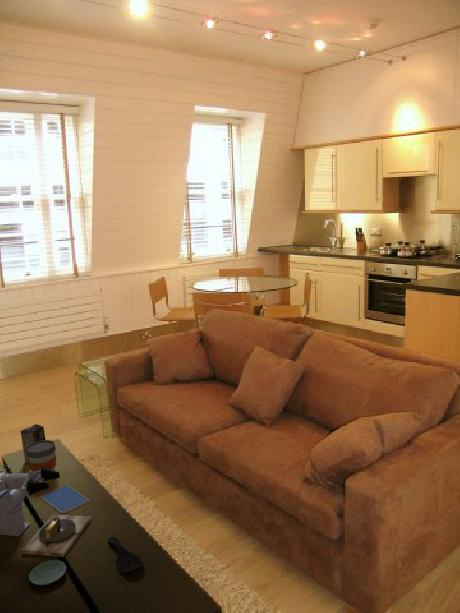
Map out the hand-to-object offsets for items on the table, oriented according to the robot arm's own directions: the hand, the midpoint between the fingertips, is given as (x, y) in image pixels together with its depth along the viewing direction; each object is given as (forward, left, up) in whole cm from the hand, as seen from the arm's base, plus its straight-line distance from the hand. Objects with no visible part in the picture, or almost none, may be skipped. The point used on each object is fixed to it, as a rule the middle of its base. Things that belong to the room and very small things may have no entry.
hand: (53, 480), depth 199 cm
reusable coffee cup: (-29, +39, -22) cm, 53 cm away
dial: (0, -2, -20) cm, 20 cm away
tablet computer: (-10, +22, -23) cm, 33 cm away
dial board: (0, -2, -22) cm, 22 cm away
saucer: (+8, -23, -22) cm, 33 cm away
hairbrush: (+29, -10, -22) cm, 38 cm away
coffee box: (-42, +54, -22) cm, 72 cm away
